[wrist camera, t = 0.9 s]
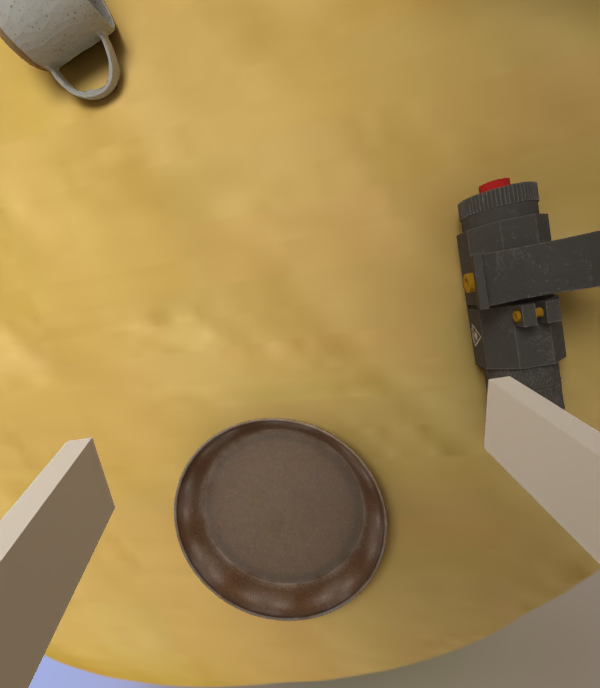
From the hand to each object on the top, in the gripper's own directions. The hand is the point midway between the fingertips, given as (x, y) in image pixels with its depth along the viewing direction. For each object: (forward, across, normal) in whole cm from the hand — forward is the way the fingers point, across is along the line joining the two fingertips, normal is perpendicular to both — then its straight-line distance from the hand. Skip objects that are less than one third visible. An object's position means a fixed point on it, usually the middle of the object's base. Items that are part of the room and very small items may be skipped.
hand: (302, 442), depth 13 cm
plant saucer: (+21, -2, -21) cm, 30 cm away
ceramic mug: (+35, -14, +24) cm, 45 cm away
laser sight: (+21, +20, -4) cm, 30 cm away
